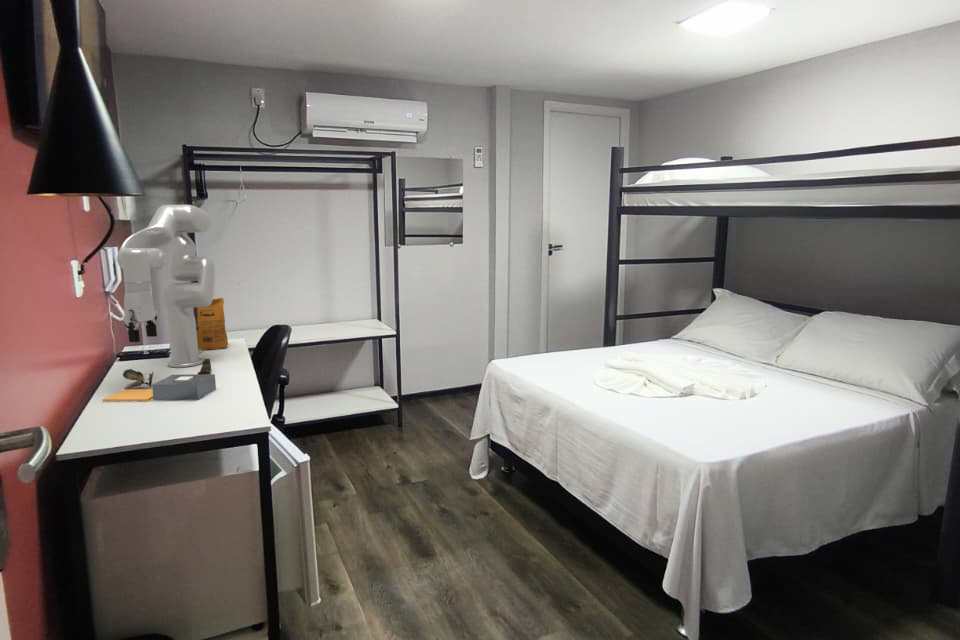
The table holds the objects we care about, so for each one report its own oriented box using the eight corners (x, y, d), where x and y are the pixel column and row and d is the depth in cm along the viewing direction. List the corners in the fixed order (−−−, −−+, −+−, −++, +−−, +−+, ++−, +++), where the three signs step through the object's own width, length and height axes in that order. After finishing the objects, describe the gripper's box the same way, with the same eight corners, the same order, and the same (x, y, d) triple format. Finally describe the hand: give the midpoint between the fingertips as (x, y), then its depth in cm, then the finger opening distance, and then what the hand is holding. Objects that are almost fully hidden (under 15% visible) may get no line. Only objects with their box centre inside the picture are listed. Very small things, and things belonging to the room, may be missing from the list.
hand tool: (210, 381, 204) (209, 368, 203) (197, 382, 203) (196, 369, 202) (216, 368, 222) (215, 356, 221) (204, 369, 221) (203, 357, 220)
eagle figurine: (152, 380, 201) (122, 378, 197) (154, 365, 197) (123, 363, 193) (150, 396, 196) (119, 395, 192) (151, 382, 192) (119, 380, 188)
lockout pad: (124, 391, 191) (124, 389, 191) (166, 391, 191) (166, 389, 191) (102, 401, 181) (102, 399, 181) (147, 401, 180) (147, 399, 180)
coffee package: (197, 347, 259) (193, 297, 256) (228, 344, 264) (224, 296, 260) (196, 351, 250) (191, 300, 247) (228, 349, 255) (224, 298, 251)
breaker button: (182, 388, 189) (181, 376, 189) (194, 388, 189) (193, 376, 189) (175, 392, 186) (174, 379, 185) (188, 392, 185) (187, 379, 185)
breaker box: (174, 389, 194) (172, 374, 193) (216, 389, 193) (214, 374, 193) (153, 400, 182) (151, 384, 181) (198, 400, 182) (196, 384, 181)
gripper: (142, 285, 200) (147, 334, 202) (110, 290, 183) (115, 344, 185) (164, 284, 200) (168, 334, 202) (133, 290, 183) (139, 344, 185)
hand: (143, 339), depth 194 cm, fingers open, 9 cm apart
